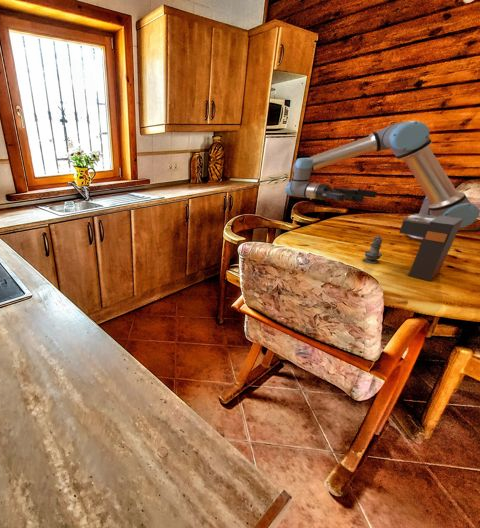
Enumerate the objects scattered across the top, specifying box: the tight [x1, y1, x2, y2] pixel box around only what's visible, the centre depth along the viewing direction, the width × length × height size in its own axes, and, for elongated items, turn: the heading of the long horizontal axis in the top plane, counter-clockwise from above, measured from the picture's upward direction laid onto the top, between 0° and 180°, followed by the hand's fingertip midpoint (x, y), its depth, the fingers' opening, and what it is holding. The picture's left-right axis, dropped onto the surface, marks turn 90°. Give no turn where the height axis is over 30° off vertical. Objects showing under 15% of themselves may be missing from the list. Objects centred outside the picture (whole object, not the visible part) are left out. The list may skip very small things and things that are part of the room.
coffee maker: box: [398, 212, 463, 282], centre depth 107 cm, size 13×13×22 cm
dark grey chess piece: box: [362, 235, 383, 264], centre depth 120 cm, size 6×6×12 cm
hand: (369, 196), depth 123 cm, fingers open, 13 cm apart
